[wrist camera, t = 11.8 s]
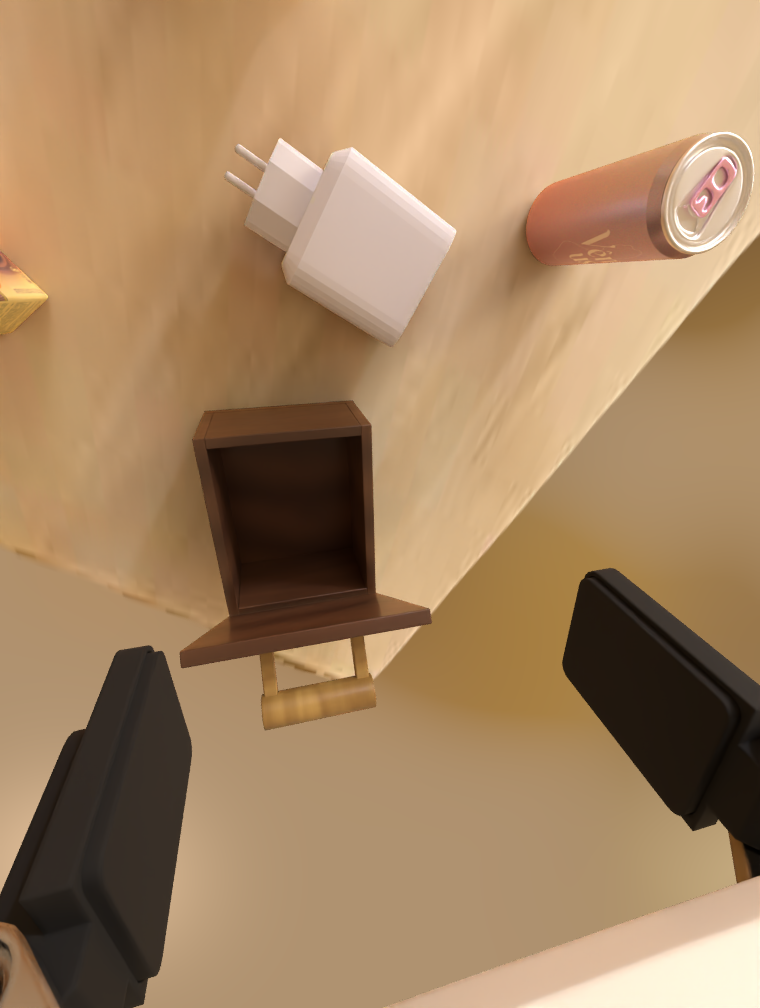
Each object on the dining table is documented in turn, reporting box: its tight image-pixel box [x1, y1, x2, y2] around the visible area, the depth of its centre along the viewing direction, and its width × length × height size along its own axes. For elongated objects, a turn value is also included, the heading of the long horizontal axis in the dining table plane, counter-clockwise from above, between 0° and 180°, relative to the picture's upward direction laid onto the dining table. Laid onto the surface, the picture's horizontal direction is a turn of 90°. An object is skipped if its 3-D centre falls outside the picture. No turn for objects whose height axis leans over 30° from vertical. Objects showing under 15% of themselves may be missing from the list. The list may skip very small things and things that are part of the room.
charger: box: [224, 138, 456, 347], centre depth 32 cm, size 5×9×15 cm
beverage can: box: [526, 132, 754, 266], centre depth 31 cm, size 6×6×15 cm
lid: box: [180, 593, 432, 730], centre depth 30 cm, size 16×13×5 cm
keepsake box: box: [192, 401, 376, 616], centre depth 39 cm, size 16×13×8 cm
